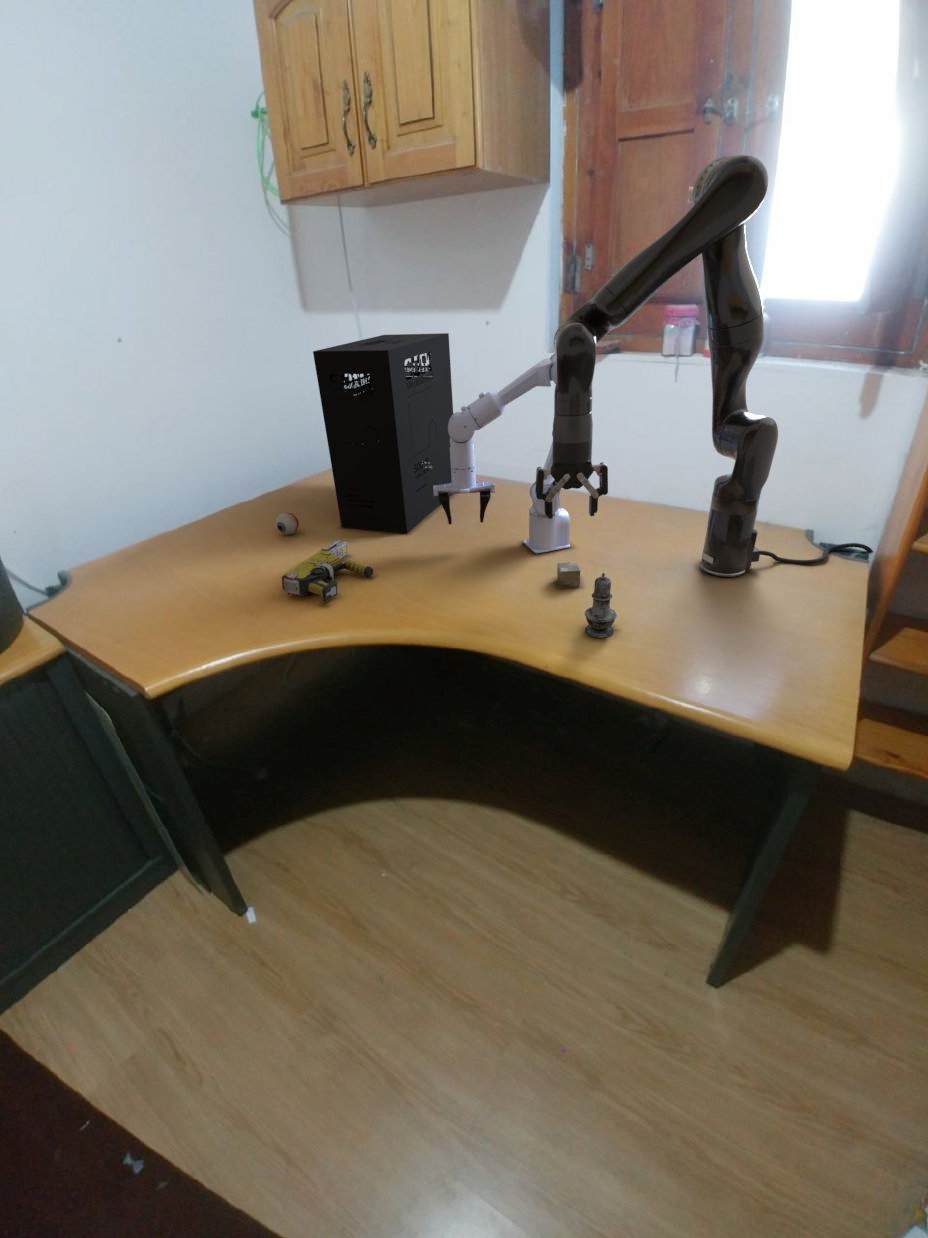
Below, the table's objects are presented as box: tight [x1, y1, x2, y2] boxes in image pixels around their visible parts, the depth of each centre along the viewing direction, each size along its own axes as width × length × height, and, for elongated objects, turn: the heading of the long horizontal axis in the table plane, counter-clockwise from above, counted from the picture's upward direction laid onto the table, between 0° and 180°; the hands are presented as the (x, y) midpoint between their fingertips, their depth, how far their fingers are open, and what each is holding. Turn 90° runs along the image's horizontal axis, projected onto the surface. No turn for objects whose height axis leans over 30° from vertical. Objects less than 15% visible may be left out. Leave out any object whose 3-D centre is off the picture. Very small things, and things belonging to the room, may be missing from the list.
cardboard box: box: [312, 332, 454, 534], centre depth 168 cm, size 38×20×45 cm, turn 159°
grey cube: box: [556, 561, 581, 589], centre depth 130 cm, size 4×4×4 cm
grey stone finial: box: [583, 572, 618, 639], centre depth 111 cm, size 6×6×12 cm
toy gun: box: [281, 539, 374, 603], centre depth 138 cm, size 5×24×15 cm
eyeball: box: [275, 511, 300, 536], centre depth 163 cm, size 6×6×6 cm
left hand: (465, 521), depth 147 cm, fingers open, 7 cm apart
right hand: (570, 516), depth 124 cm, fingers open, 8 cm apart
